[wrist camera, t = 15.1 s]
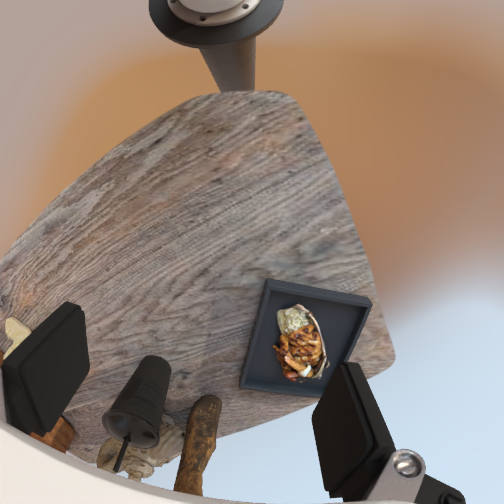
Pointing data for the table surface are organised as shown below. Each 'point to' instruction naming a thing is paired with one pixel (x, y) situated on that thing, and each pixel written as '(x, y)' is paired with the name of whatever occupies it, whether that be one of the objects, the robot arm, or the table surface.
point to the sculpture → (198, 444)
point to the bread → (54, 431)
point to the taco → (300, 344)
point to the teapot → (144, 452)
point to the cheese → (15, 333)
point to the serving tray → (331, 328)
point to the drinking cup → (139, 407)
